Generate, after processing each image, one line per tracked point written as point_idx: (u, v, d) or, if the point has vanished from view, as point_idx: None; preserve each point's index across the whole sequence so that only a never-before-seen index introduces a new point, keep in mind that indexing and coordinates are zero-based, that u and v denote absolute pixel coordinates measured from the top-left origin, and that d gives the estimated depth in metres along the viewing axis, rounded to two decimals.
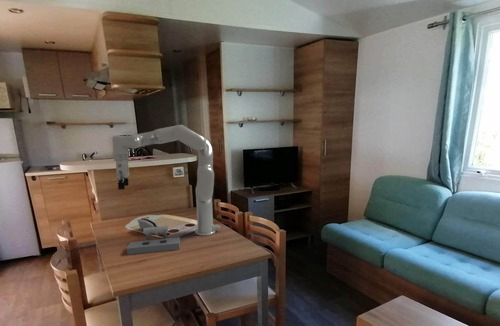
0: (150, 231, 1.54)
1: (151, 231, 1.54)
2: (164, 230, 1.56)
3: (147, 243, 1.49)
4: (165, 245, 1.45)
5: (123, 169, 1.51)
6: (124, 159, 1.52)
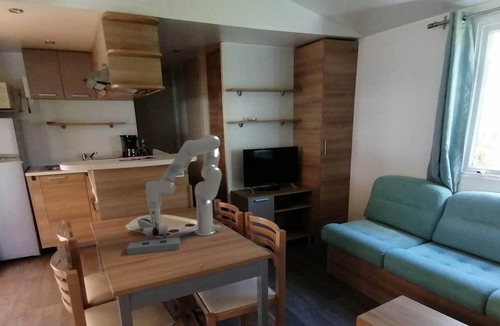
0: (150, 231, 1.54)
1: (151, 231, 1.54)
2: (164, 230, 1.56)
3: (147, 243, 1.49)
4: (165, 245, 1.45)
5: (157, 216, 1.50)
6: (157, 205, 1.52)
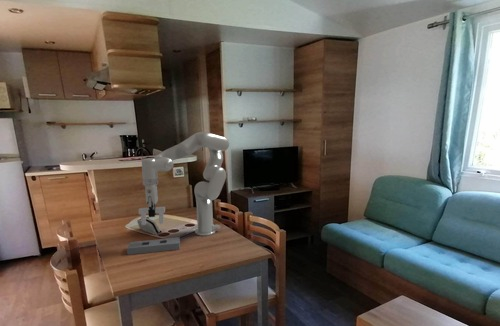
0: (146, 211, 1.44)
1: (147, 211, 1.44)
2: (161, 211, 1.46)
3: (147, 243, 1.49)
4: (165, 245, 1.45)
5: (153, 195, 1.41)
6: (154, 184, 1.42)
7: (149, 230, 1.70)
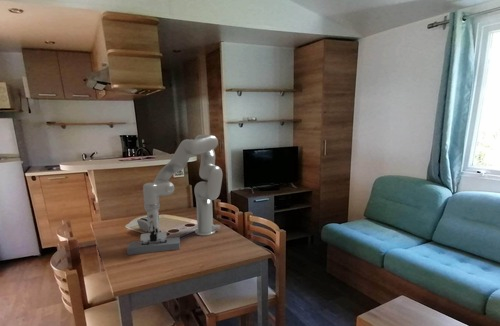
0: (148, 237, 1.45)
1: (149, 237, 1.45)
2: (163, 236, 1.47)
3: None
4: (165, 245, 1.45)
5: (155, 220, 1.42)
6: (155, 209, 1.43)
7: (149, 230, 1.70)
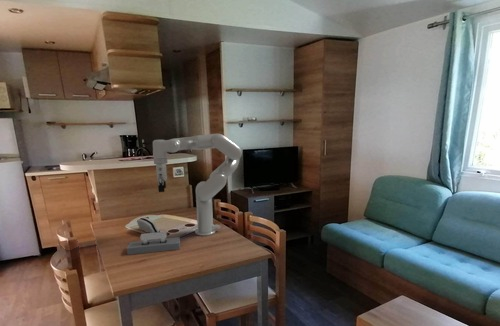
0: (148, 237, 1.45)
1: (149, 237, 1.46)
2: (163, 236, 1.47)
3: None
4: (165, 245, 1.45)
5: (163, 172, 1.56)
6: (164, 162, 1.57)
7: (148, 230, 1.70)
